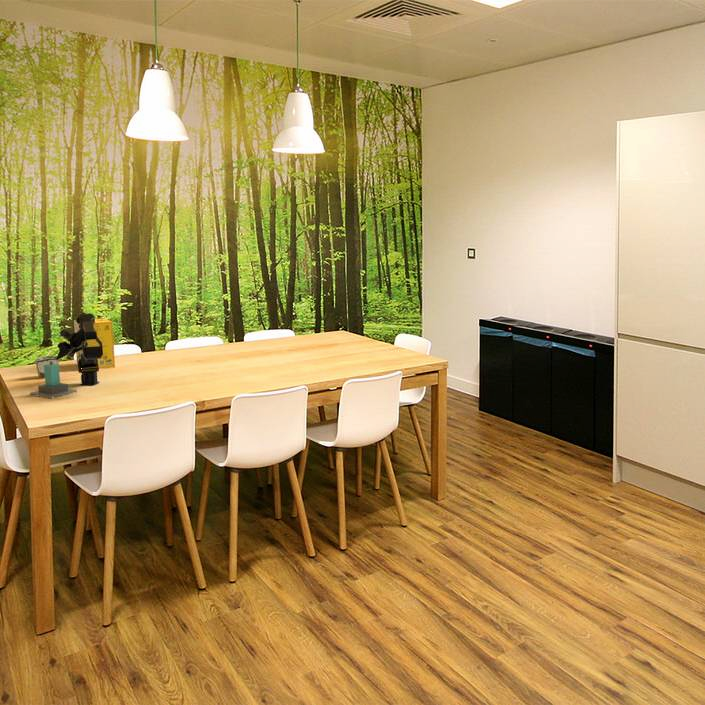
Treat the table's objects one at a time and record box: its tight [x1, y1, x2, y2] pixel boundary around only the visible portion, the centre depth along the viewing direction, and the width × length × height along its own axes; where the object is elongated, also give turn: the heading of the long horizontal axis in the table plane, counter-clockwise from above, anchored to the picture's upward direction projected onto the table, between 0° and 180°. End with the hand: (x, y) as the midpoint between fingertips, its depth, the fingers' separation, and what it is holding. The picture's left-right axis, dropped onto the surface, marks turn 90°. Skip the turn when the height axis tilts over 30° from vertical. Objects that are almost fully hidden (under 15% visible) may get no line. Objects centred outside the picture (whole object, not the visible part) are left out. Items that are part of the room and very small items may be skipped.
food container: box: [34, 355, 61, 380], centre depth 348 cm, size 12×6×10 cm, turn 141°
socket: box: [29, 382, 78, 399], centre depth 314 cm, size 14×14×4 cm
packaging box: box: [73, 317, 116, 370], centre depth 372 cm, size 16×16×25 cm
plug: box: [44, 361, 61, 387], centre depth 313 cm, size 4×4×14 cm
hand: (62, 356), depth 335 cm, fingers open, 9 cm apart
